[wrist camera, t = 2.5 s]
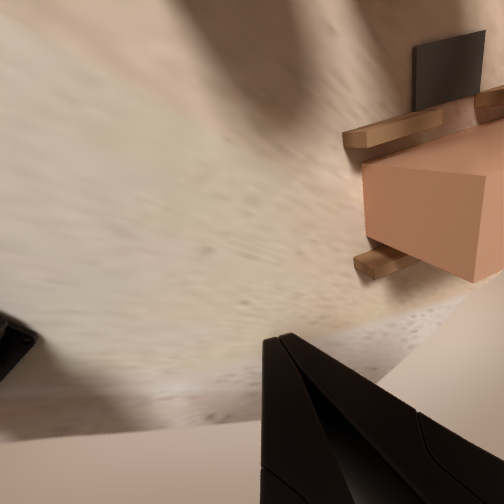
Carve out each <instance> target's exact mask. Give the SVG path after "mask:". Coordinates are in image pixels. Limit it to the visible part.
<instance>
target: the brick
mask: <svg viewBox="0 0 504 504" xmlns="http://www.w3.org/2000/svg"><path fill="white" fill-rule="evenodd" d="M361 167H362V182H363V197H364V211H365V226H366V236H367V237H370V238H372V239H374V240H376V241H379V242H381V243H383V244H385V245H388V246H390V247H392V248H395V249H397V250H399V251H401V252H404V253H406V254H408V255H410V256H413V257H415V258H417V259H419V260H422V261H424V262H426V263H429V264H431V265H433V266H435V267H438V268H440V269H442V270H444V271H447V272H449V273H451V274H453V275H456V276H458V277H460V278H463V279H465V280H467V281H469V282H472V283H475V282H477V281H479V280H481V279H483V278H486V277H488V276H490V275H492V274H494V273H496V272H499V271H501V270H503V269H504V117H503V118H500V119H497V120H494V121H490V122H487V123H484V124H481V125H478V126H475V127H472V128H469V129H466V130H463V131H460V132H457V133H454V134H450V135H447V136H444V137H441V138H438V139H435V140H432V141H429V142H426V143H423V144H420V145H417V146H413V147H410V148H407V149H404V150H401V151H398V152H395V153H392V154H389V155H386V156H383V157H380V158H377V159H373V160H370V161H367V162H364V163H361Z"/></svg>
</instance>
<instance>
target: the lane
mask: <svg viewBox="0 0 504 504" xmlns="http://www.w3.org/2000/svg"><path fill="white" fill-rule="evenodd" d="M485 32H486V30H483V31H479V32H474V33H470V34H466V35H462V36H458V37H454V38H450V39H445V40H441V41H437V42H433V43H429V44H425V45H420V46H417V47H414V48H413V112H411V113H407V114H404V115H401V116H397V117H394V118H390V119H387V120H384V121H380V122H377V123H373V124H370V125H367V126H363V127H360V128H356V129H353V130H350V131H346V132H343V144H344V147H347V148H369V147H372V146H375V145H379V144H382V143H385V142H388V141H392V140H395V139H398V138H401V137H404V136H408V135H411V134H414V133H417V132H420V131H424V130H427V129H430V128H433V127H436V126H440V125H443V110H444V108H442V109H433V110H425V111H420V110H423V109H426V108H430V107H433V106H437V105H440V104H443V103H447V102H450V101H454V100H457V99H460V98H464V97H467V96H470V95H474V94H475V105H474V107H484V106H493V105H502V104H504V85H503V86H499V87H496V88H492V89H489V90H486V91H482V92H480V83H481V73H482V63H483V53H484V43H485ZM419 261H421V260H419V259H417V258H415V257H413V256H410V255H408V254H406V253H404V252H401V251H399V250H397V249H395V248H392V247H390V246H388V245H384V246H381V247H379V248H376V249H374V250H371V251H368V252H366V253H363V254H361V255H358V256H356V257H354V267H355V268H356V269H358V270H359V271H361V272H363V273H364V274H366V275H367V276H369V277H371V278H372V279H374V280H376V279H378V278H381V277H383V276H386V275H388V274H390V273H393V272H395V271H397V270H400V269H402V268H405V267H407V266H409V265H412V264H414V263H416V262H419Z"/></svg>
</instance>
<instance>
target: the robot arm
mask: <svg viewBox="0 0 504 504" xmlns="http://www.w3.org/2000/svg"><path fill="white" fill-rule="evenodd" d="M24 338H26V339H29V340H30V341H25V340H23V339H24ZM36 341H37V335H36V334H35V333H34V332H32V331H29V330H27V329H25V328H23V327H21V326H18V325H16V324H14V323H12V322H10V321H7V320H5V319H3V318H1V317H0V382H1V381H2V380H3V379H4V377H5V376H6V375H7V374H8V373H9V372H10V371H11V370H12V369H13V368H14V366H15V365H16V364H17V363H18V362H19V361H20V360H21V359H22V358H23V357H24V355H25V354H26V353H27V352H28V351H29V350H30V349H31V348H32V347H33V346H34V344H35V342H36ZM261 424H262V425H261V475H260V478H261V479H260V483H261V484H260V504H504V461H503V460H501V459H500V458H498V457H496V456H494V455H492V454H491V453H489V452H487V451H485V450H483V449H482V448H480V447H478V446H476V445H474V444H473V443H471V442H469V441H467V440H466V439H464V438H462V437H461V436H459V435H457V434H456V433H454V432H452V431H450V430H449V429H447V428H445V427H444V426H442V425H440V424H439V423H437V422H435V421H434V420H432V419H431V418H429V417H427V416H426V415H424V414H422V413H421V412H417V411H416V409H414V408H413V407H411V406H409V405H408V404H406V403H405V402H403V401H401V400H400V399H398V398H397V397H395V396H393V395H392V394H390V393H389V392H387V391H385V390H384V389H382V388H380V387H379V386H377V385H376V384H374V383H373V382H371V381H369V380H368V379H366V378H365V377H363V376H361V375H360V374H358V373H356V372H355V371H353V370H352V369H350V368H348V367H347V366H345V365H344V364H342V363H340V362H339V361H337V360H336V359H334V358H332V357H331V356H329V355H328V354H326V353H324V352H323V351H321V350H320V349H318V348H316V347H315V346H313V345H311V344H310V343H308V342H307V341H305V340H303V339H302V338H300V337H299V336H297V335H295V334H294V333H287V334H283V335H280V336H279V337H278V338H277V337H272V338H268V339H265V340H263V348H262V419H261Z"/></svg>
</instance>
